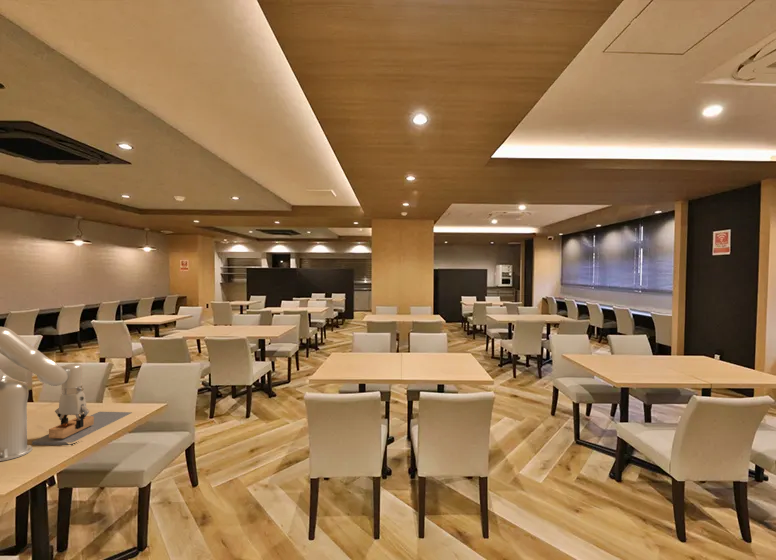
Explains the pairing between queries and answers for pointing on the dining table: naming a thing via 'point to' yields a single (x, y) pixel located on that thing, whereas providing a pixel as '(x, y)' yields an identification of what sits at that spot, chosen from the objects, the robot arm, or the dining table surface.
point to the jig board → (99, 421)
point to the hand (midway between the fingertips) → (72, 427)
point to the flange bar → (69, 428)
